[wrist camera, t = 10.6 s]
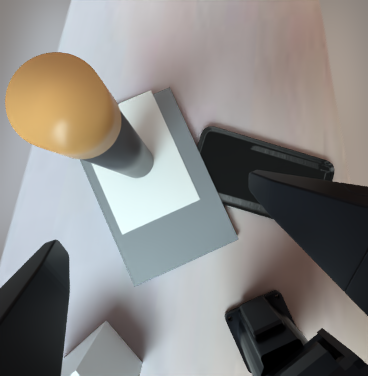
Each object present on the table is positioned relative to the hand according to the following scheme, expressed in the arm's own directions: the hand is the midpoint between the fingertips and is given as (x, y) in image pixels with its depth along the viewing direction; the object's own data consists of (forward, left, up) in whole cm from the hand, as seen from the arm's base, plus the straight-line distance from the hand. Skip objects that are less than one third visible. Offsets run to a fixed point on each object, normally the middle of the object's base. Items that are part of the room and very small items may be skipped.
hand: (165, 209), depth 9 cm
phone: (-1, -9, -13) cm, 16 cm away
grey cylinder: (+6, +2, -11) cm, 13 cm away
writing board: (+3, +2, -12) cm, 13 cm away
